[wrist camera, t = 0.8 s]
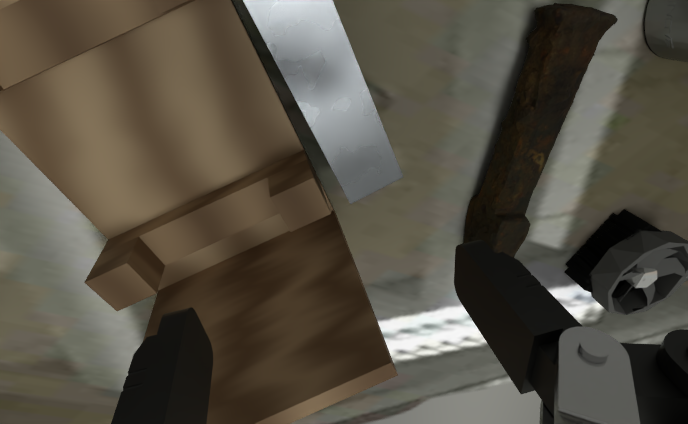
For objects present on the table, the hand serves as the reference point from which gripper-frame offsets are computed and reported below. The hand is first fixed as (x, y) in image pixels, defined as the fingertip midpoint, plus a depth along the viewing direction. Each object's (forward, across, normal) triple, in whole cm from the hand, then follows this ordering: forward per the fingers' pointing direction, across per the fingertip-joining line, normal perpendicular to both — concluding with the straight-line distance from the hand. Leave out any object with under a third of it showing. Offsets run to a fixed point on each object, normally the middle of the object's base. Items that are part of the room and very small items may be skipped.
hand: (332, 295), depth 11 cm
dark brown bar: (+19, -18, +7) cm, 28 cm away
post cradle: (+19, +8, -1) cm, 20 cm away
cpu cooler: (+20, -33, +22) cm, 45 cm away
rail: (+19, -2, -4) cm, 19 cm away
